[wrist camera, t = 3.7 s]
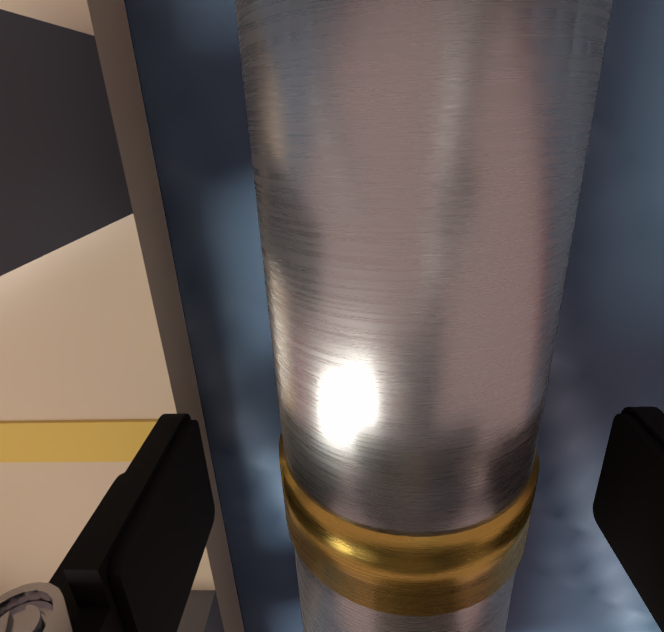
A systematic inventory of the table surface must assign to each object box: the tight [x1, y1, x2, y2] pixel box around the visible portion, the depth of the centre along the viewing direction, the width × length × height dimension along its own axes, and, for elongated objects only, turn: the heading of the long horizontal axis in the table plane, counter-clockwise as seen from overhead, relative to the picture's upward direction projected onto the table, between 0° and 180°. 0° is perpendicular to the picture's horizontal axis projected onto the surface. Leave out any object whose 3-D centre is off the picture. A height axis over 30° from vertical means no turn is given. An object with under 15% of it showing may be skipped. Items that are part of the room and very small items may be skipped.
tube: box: [235, 0, 613, 632], centre depth 10 cm, size 20×5×5 cm, turn 3°
